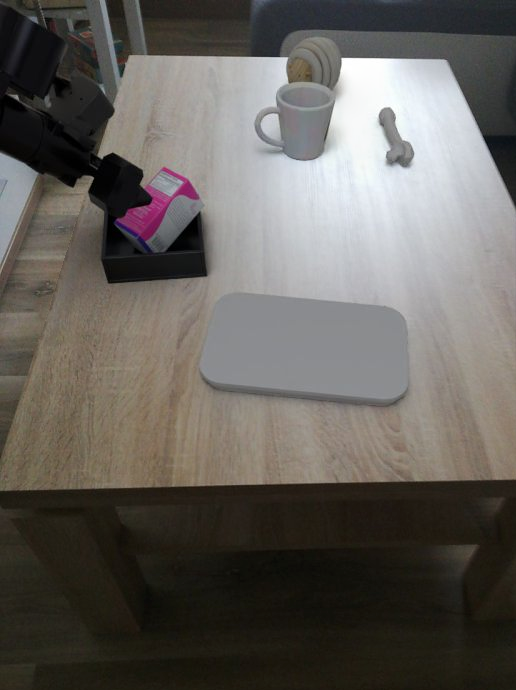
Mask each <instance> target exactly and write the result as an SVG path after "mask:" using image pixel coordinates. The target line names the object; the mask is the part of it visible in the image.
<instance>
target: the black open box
mask: <svg viewBox="0 0 516 690" xmlns="http://www.w3.org/2000/svg"><path fill="white" fill-rule="evenodd" d="M197 194H198V195H199V196H200V194H199V193H197ZM202 219H203V218H202V209H201V210H200V212H199V213H198V214H197V215H196V216H195V217H194V218H193V220H192V221H191V222H190V223H189V224H188V225H187V227H186V228H185V229H184V230H183V231H182V232H181V234H180V235H179V236H178V237H177V238H176V239H175V241H174V242H173V243H172V244H171V245H170V246H169V248H168V249H167V250H166V251H165V252H156V253H143V252H141V251H139V250H138V249H137V248H135V247H134V246H133V245H132V244H131V242H130V241H129V240H128V239H127V238H126V236H125V235H124V234H123V233H122V232H121V231H120V230H119V228H117V227H116V225H115V224H114V222H115V221H116V220H117V217H114V216H112V215H110V214H108V213H106V212H105V211H103V221H102V222H103V223H102V234H101V235H102V237H101V249H100V250H101V251H100V261H101V265H102V269H103V272H104V274H105V278H106V282H107V284H108V285H111V284H121V283H122V284H123V283H137V282H138V283H139V282H149V281H163V280H164V281H165V280H176V279H177V280H178V279H191V278H203V277H208V271H207V269H208V268H207V260H206V249H205V239H204V231H203V220H202Z"/></svg>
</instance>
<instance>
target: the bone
mask: <svg viewBox="0 0 516 690" xmlns="http://www.w3.org/2000/svg"><path fill="white" fill-rule="evenodd" d="M396 119H397V117H396V113H395V111H394V110H393V109H392V108H391V107H390V106H388V107H387V106H386V107H383V108H381V109H380V111H379V113H378V120H379V124H380V125H382V126H383V128H384V131H385V132H386V137H387V138H388V140H389V142H390V145H391V147H390V149H389V150H387V151H386V154H385V158H386V160H387V161H388V162H390V163H391V162H394V161H396V162H398V164H400V165H401V166H407V165H408V164H410V163H411V162H412V160H413V159H414V157H415V151H414V147H413V145H412V143H411V142H410V141H408V140H404V139H403V138H402V136H401V135H400V132H399V131H398V128H397V125H396Z"/></svg>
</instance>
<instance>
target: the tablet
mask: <svg viewBox="0 0 516 690" xmlns="http://www.w3.org/2000/svg"><path fill="white" fill-rule="evenodd" d="M407 326H408V325H407V320H406V318H405V317H404V315H403V314H402V313H401V312H400V311H399V310H397V309H395V308H393V307H390V306H386V305H378V304H368V303H358V302H346V301H337V300H326V299H318V298H317V299H315V298H305V297H294V296H283V295H276V294H275V295H274V294H262V293H253V292H242V291H236V292H235V291H234V292H230V293H227V294H224V295H223V296H221V297H220V298H219V299H218V300H216V302H215V304H214V306H213V310H212V314H211V317H210V320H209V324H208V328H207V333H206V335H205V340H204V343H203V346H202V351H201V354H200V357H199V362H198V365H199V366H198V367H199V372H200V375H201V376H202V377H203V379H204V380H205V381H206V382H207V383H209V385H210V386H211V387H212V388H214V389H216V390H218V391H219V390H220V391H224V392H225V391H226V392H237V393H246V394H254V395H255V394H256V395H267V396H276V397H286V398H296V399H305V400H315V401H327V402H336V403H344V404H357V405H364V406H365V405H366V406H374V407H375V406H377V407H386V406H390V405H392V404H394V403H395V402H396V401H397V400H399V399H401V398H402V397H403V396H404V395H405V394H406V392H407V389H408V386H409V359H408V358H409V357H408V355H409V354H408V327H407Z"/></svg>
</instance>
